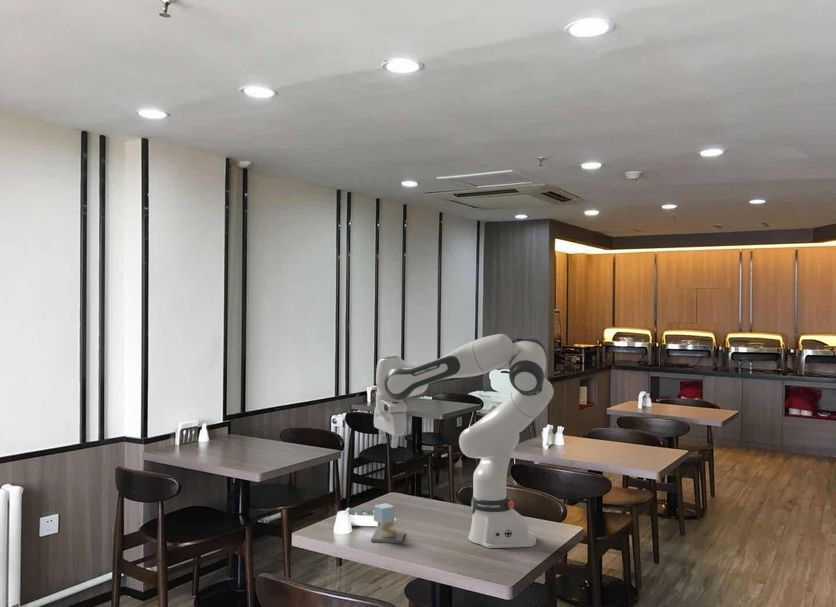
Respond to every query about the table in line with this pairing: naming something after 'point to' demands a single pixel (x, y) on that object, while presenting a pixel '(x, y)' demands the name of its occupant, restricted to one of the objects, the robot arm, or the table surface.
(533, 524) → the table surface
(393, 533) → the birch cube
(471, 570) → the table surface
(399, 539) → the slate coaster
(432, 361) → the robot arm
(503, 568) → the table surface
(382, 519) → the bluegrey cube
